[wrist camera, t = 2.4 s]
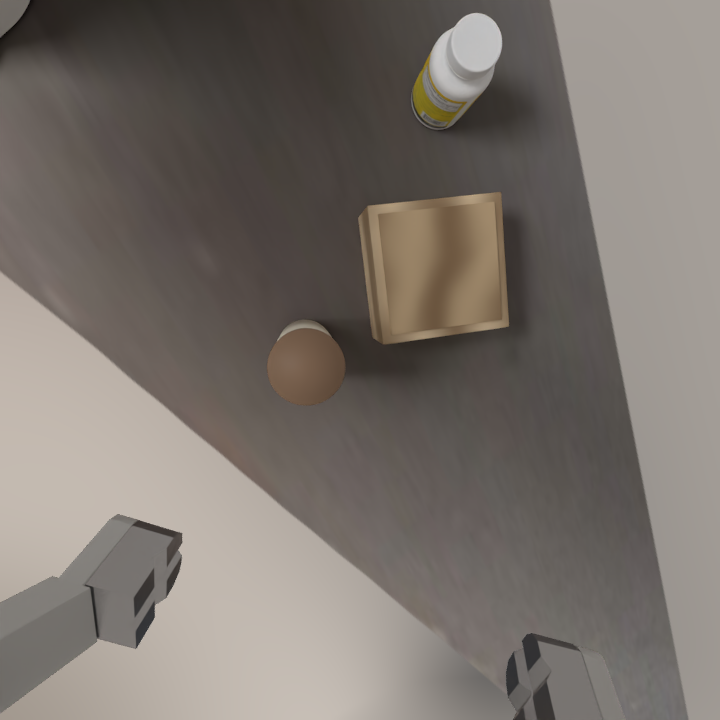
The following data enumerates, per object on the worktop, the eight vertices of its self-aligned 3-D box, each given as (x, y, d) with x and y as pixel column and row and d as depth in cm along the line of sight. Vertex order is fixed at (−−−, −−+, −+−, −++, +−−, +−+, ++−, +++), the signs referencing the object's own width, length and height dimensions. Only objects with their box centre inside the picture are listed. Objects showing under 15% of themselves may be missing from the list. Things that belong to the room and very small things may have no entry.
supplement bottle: (452, 62, 40) (499, -10, 31) (470, 119, 41) (521, 68, 32) (401, 82, 40) (432, 16, 30) (420, 139, 41) (457, 93, 31)
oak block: (372, 337, 43) (384, 345, 37) (358, 217, 41) (368, 205, 35) (481, 322, 45) (510, 326, 39) (473, 205, 43) (502, 191, 36)
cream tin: (281, 378, 43) (273, 411, 31) (272, 322, 42) (261, 334, 30) (337, 370, 43) (349, 399, 32) (329, 314, 42) (340, 323, 31)
